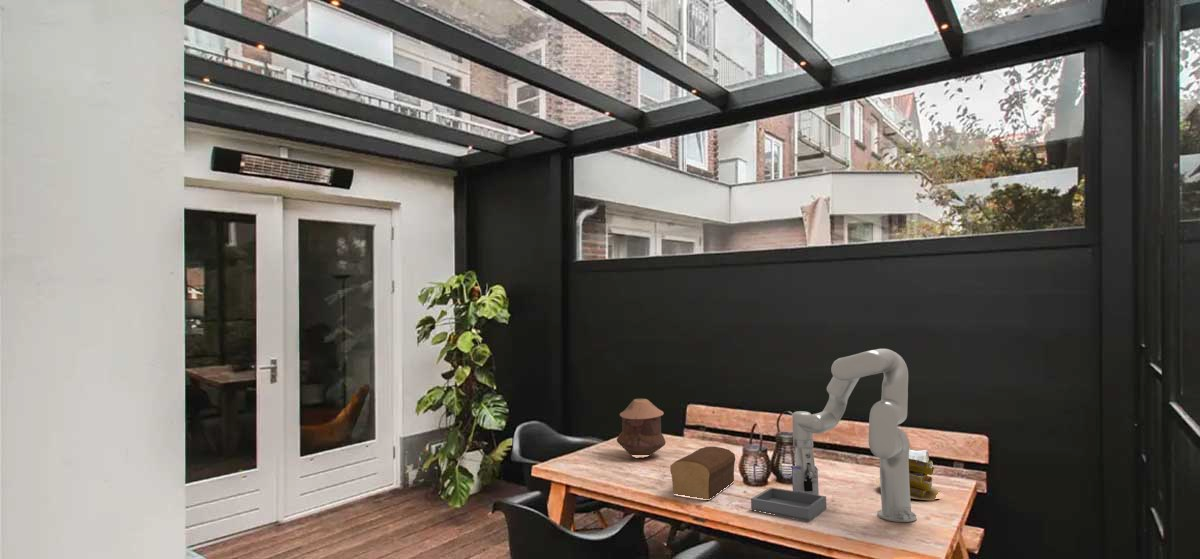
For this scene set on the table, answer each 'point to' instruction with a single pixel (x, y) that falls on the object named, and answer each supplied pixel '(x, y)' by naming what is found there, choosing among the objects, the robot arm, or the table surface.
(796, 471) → the ink cartridge box
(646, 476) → the table surface
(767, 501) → the tray
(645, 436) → the pottery vessel
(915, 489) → the stacked food on plate
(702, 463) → the bread
